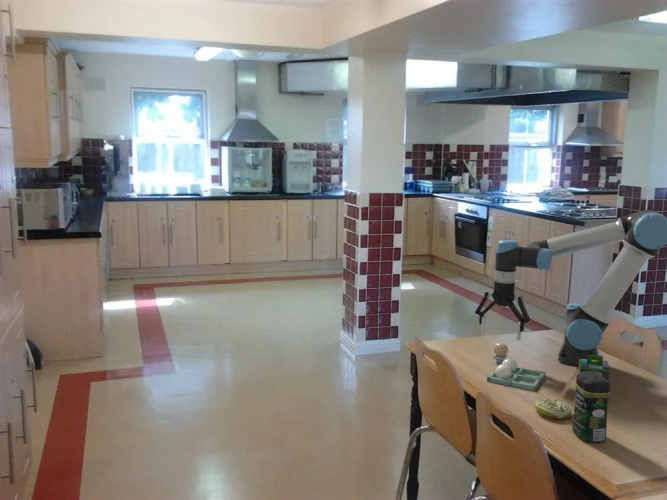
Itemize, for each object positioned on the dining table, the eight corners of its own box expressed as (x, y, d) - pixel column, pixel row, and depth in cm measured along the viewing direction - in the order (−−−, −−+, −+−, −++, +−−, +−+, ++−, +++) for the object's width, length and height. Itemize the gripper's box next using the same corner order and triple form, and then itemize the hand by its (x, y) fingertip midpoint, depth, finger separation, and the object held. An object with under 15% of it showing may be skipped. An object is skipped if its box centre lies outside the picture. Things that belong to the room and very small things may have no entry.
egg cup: (507, 363, 236) (507, 354, 236) (503, 366, 233) (504, 358, 232) (496, 361, 238) (496, 352, 238) (492, 364, 235) (493, 355, 234)
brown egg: (509, 355, 236) (510, 342, 235) (505, 359, 231) (506, 346, 231) (495, 353, 239) (496, 339, 238) (491, 357, 234) (492, 343, 233)
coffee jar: (567, 428, 182) (572, 368, 179) (593, 428, 183) (598, 368, 180) (582, 444, 173) (588, 381, 170) (610, 443, 173) (615, 380, 170)
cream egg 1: (518, 372, 225) (519, 358, 224) (514, 376, 220) (515, 362, 219) (503, 369, 227) (504, 355, 226) (499, 373, 223) (500, 359, 222)
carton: (545, 378, 221) (545, 372, 221) (534, 393, 208) (534, 386, 207) (500, 369, 230) (500, 363, 229) (486, 383, 216) (487, 377, 216)
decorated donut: (566, 425, 185) (567, 413, 184) (530, 415, 191) (531, 404, 190) (575, 413, 194) (575, 401, 193) (540, 404, 200) (541, 393, 199)
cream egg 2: (512, 378, 218) (513, 364, 217) (508, 383, 214) (509, 368, 213) (497, 375, 221) (498, 361, 220) (492, 380, 216) (493, 365, 215)
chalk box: (605, 393, 209) (609, 351, 206) (607, 404, 200) (611, 360, 198) (576, 389, 212) (579, 348, 209) (577, 400, 203) (580, 356, 201)
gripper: (468, 278, 233) (465, 332, 237) (536, 288, 221) (531, 344, 224) (475, 275, 240) (471, 327, 243) (541, 284, 227) (536, 339, 231)
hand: (500, 336), depth 234 cm, fingers open, 13 cm apart
